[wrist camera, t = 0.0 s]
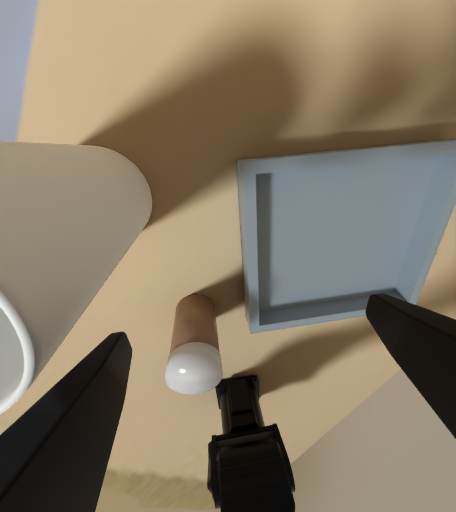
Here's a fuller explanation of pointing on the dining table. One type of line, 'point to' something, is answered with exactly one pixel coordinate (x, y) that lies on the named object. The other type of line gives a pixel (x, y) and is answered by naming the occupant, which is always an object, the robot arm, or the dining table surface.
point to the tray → (340, 229)
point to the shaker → (194, 347)
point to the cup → (58, 245)
